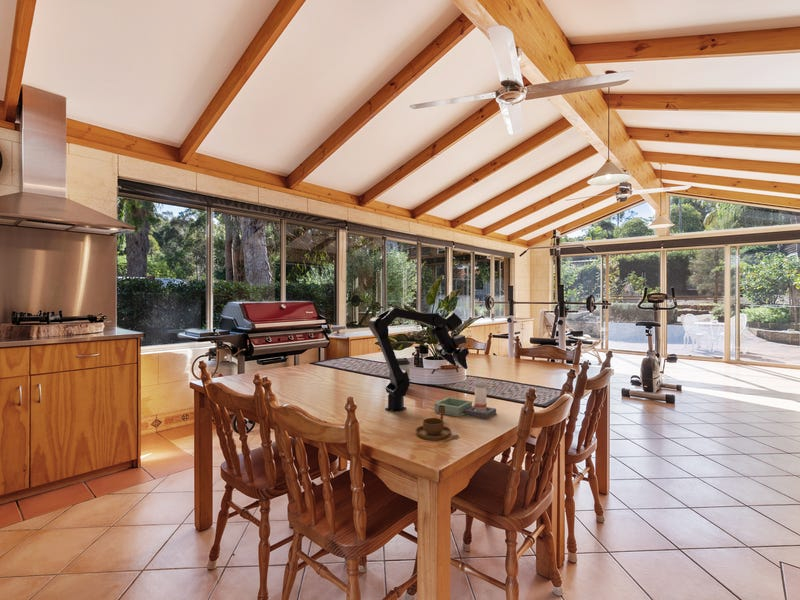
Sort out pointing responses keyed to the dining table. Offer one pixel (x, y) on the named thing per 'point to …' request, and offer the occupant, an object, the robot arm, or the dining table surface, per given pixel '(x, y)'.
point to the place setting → (435, 427)
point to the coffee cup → (404, 364)
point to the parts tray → (453, 406)
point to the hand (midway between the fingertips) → (460, 367)
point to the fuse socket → (482, 415)
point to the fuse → (480, 395)
